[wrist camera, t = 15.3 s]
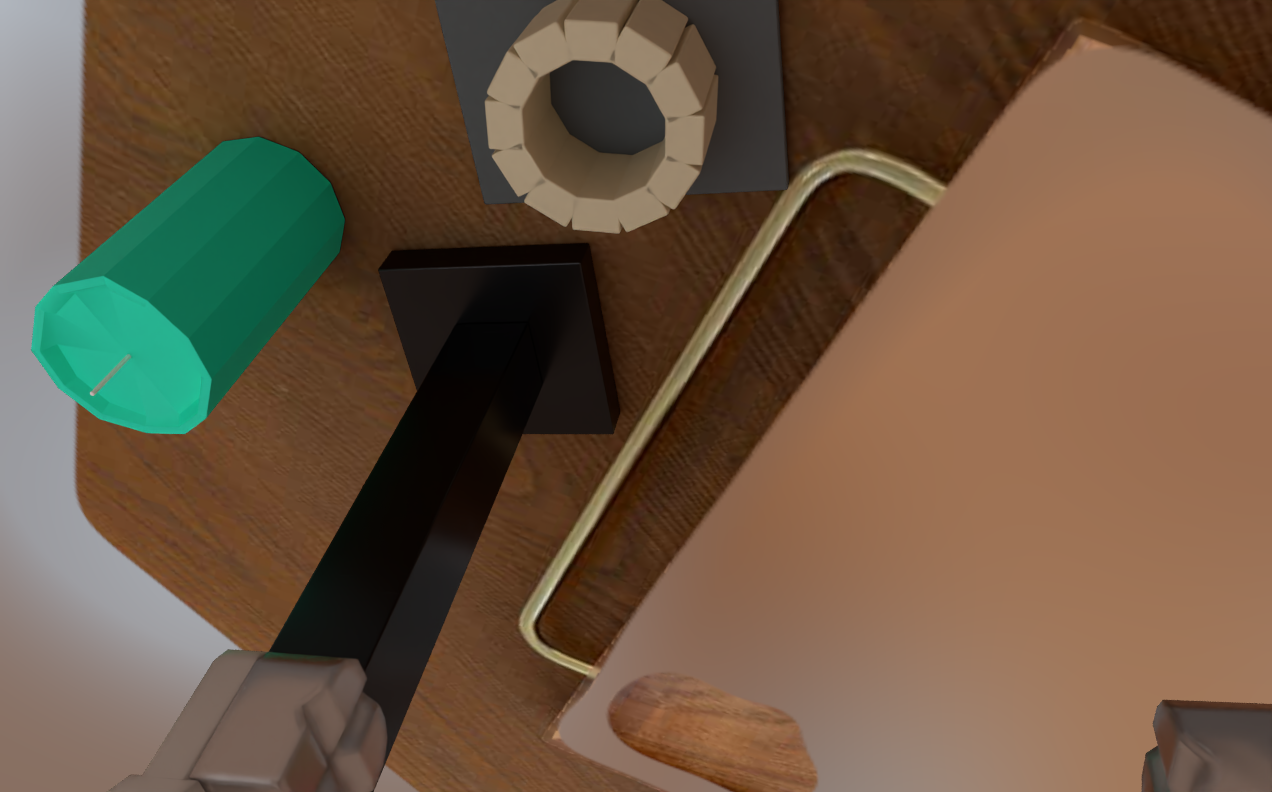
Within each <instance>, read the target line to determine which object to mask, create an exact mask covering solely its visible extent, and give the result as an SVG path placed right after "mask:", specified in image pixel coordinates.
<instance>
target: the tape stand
mask: <svg viewBox="0 0 1272 792" xmlns="http://www.w3.org/2000/svg"><path fill="white" fill-rule="evenodd" d="M378 271H379V274H380V277H381V281H382V284H383V287H384V290H385V293H386V296H387V299H388V302H389V305H390V308H391V312H392V315H393V318H394V321H395V324H396V327H397V330H398V333H399V336H400V339H401V343H402V346H403V349H404V352H405V355H406V358H407V361H408V364H409V367H410V370H411V374H412V377H413V380H414V383H415V386H416V389H417V392H416V394H415V396H414V398H413V399H412V401H411V403H410V405H409V406H408V408H407V410H406V412H405V413H404V415H403V417H402V419H401V420H400V422H399V424H398V426H397V427H396V429H395V431H394V433H393V435H392V436H391V438H390V440H389V442H388V443H387V445H386V447H385V449H384V450H383V452H382V454H381V456H380V457H379V459H378V461H377V463H376V464H375V466H374V468H373V470H372V471H371V473H370V475H369V477H368V478H367V480H366V482H365V484H364V485H363V487H362V489H361V491H360V492H359V494H358V496H357V498H356V499H355V501H354V503H353V505H352V507H351V508H350V510H349V512H348V514H347V515H346V517H345V519H344V521H343V522H342V524H341V526H340V528H339V529H338V531H337V533H336V535H335V536H334V538H333V540H332V542H331V543H330V545H329V547H328V549H327V550H326V552H325V554H324V556H323V557H322V559H321V561H320V563H319V564H318V566H317V568H316V570H315V571H314V573H313V575H312V577H311V578H310V580H309V582H308V584H307V586H306V587H305V589H304V591H303V593H302V594H301V596H300V598H299V600H298V601H297V603H296V605H295V607H294V608H293V610H292V612H291V614H290V615H289V617H288V619H287V621H286V622H285V624H284V626H283V628H282V629H281V631H280V633H279V635H278V636H277V638H276V640H275V642H274V643H273V645H272V647H271V649H270V650H269V652H274V653H287V654H300V655H313V656H325V657H338V658H351V659H358V661H359V663H360V665H361V667H362V669H363V671H364V673H365V675H366V676H367V681H366V683H365V685H364V687H363V689H362V692H363V693H365V694H366V695H367V696H369V697H370V698H371V699H373V700H374V701H375V702H377V703H378V704H379V705H380V708H381V710H382V713H383V715H384V717H385V722H386V729H387V737H388V738H387V745H386V752H385V759H384V765H385V763H386V761H387V758H388V756H389V753H390V751H391V749H392V746H393V744H394V741H395V739H396V737H397V734H398V732H399V729H400V727H401V725H402V722H403V720H404V717H405V715H406V713H407V710H408V708H409V705H410V703H411V701H412V698H413V696H414V693H415V691H416V689H417V686H418V684H419V681H420V679H421V677H422V674H423V672H424V669H425V667H426V664H427V662H428V660H429V657H430V655H431V652H432V650H433V648H434V645H435V643H436V640H437V638H438V636H439V633H440V631H441V628H442V626H443V624H444V621H445V619H446V616H447V614H448V612H449V609H450V607H451V604H452V602H453V600H454V597H455V595H456V592H457V590H458V588H459V585H460V583H461V580H462V578H463V576H464V573H465V571H466V568H467V566H468V564H469V561H470V559H471V556H472V554H473V552H474V549H475V547H476V544H477V542H478V540H479V537H480V535H481V532H482V530H483V528H484V525H485V523H486V520H487V518H488V516H489V513H490V511H491V508H492V506H493V504H494V501H495V499H496V496H497V494H498V492H499V489H500V487H501V484H502V482H503V480H504V477H505V475H506V472H507V470H508V468H509V465H510V463H511V460H512V458H513V456H514V453H515V451H516V448H517V446H518V443H519V441H520V439H521V436H522V434H614V431H615V427H616V424H617V421H618V418H619V414H620V408H619V403H618V397H617V392H616V386H615V381H614V376H613V370H612V365H611V360H610V354H609V349H608V343H607V338H606V333H605V327H604V322H603V316H602V311H601V306H600V300H599V295H598V290H597V284H596V279H595V273H594V268H593V263H592V257H591V252H590V247H589V244H588V243H580V244H554V245H529V246H503V247H478V248H452V249H427V250H401V251H391V253H390V254H389V255H388V257H387V258H386V259H385V261H384V262H383V264H382V265H381V266H380V268H379V269H378ZM384 765H383V768H384ZM383 768H382V770H383ZM382 770H381V773H382ZM381 773H380V775H381ZM380 775H379V777H380ZM378 779H379V778H378ZM377 782H378V780H377ZM376 784H377V783H376ZM375 787H376V785H375ZM374 789H375V788H374ZM374 789H373V790H372V791H371V792H374Z"/></svg>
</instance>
